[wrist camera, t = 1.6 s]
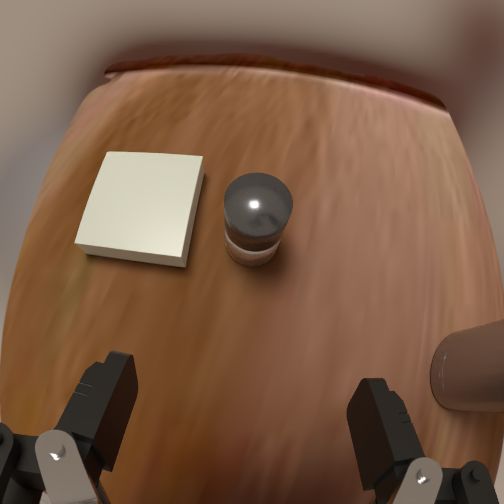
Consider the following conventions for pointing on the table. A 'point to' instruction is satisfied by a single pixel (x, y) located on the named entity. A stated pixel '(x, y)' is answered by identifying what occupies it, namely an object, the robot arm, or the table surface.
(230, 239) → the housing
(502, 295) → the table surface
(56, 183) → the table surface
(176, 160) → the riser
